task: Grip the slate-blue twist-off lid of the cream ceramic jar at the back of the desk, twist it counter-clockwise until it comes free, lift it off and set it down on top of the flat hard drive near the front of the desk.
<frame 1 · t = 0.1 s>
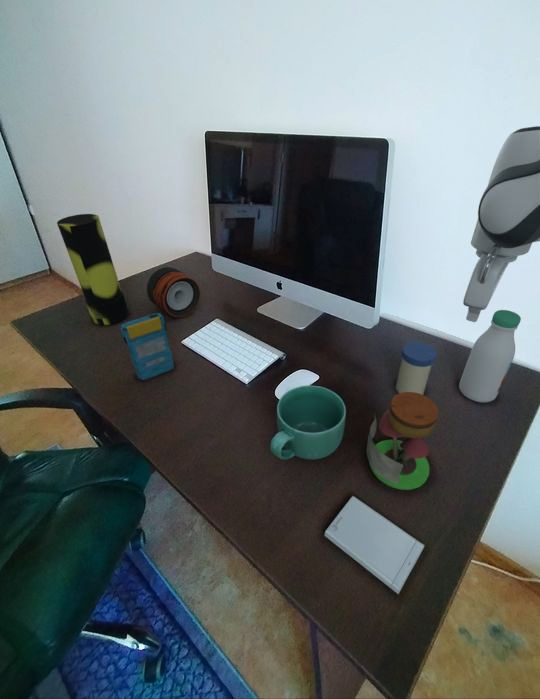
hand: (477, 308, 70), 22 cm above the table, tool pointing down, fingers open, 8 cm apart
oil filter: (176, 309, 118), on the table
milk bottle: (476, 392, 83), on the table
toy burger: (395, 463, 69), on the table
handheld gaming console: (156, 372, 92), on the table
mug: (302, 447, 72), on the table
jar: (409, 388, 84), on the table
jar lid: (419, 352, 78), point 10 cm above the table, screwed on, not yet turned
container: (111, 317, 115), on the table
hard drive: (372, 543, 57), on the table
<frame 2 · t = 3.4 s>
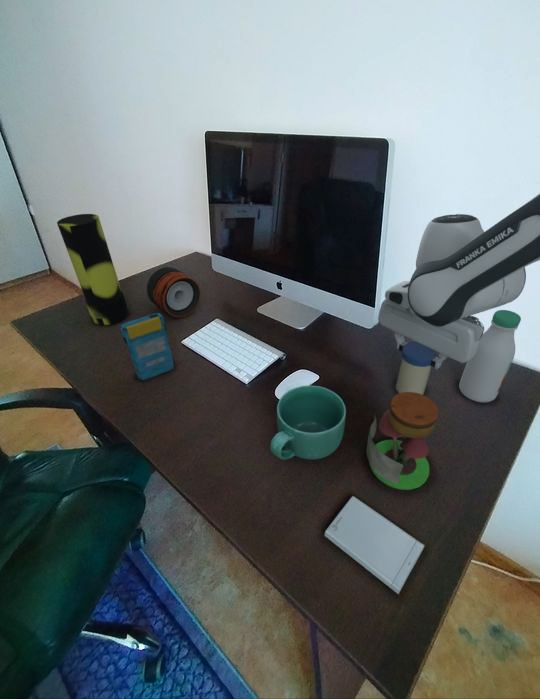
hand: (417, 357, 79), 9 cm above the table, tool pointing down, fingers closed on jar lid, 7 cm apart
jar lid: (419, 352, 78), point 10 cm above the table, screwed on, not yet turned, touching gripper
everything else where it was.
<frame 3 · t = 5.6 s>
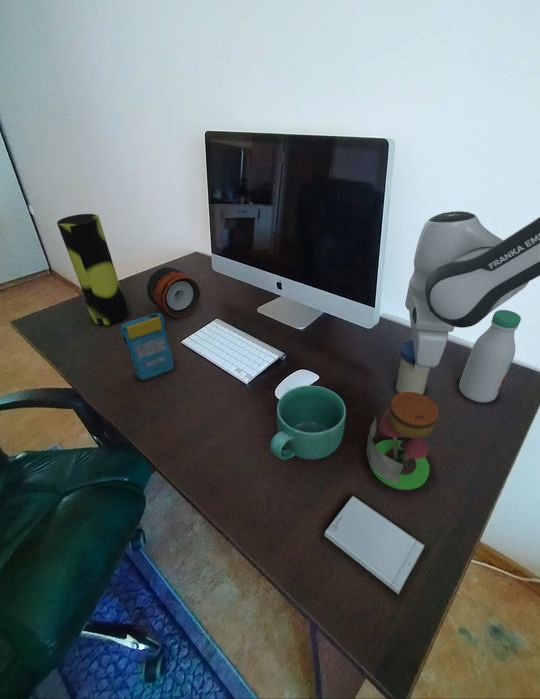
hand: (416, 356, 79), 9 cm above the table, tool pointing down, fingers closed on jar lid, 7 cm apart
jar lid: (417, 350, 78), point 11 cm above the table, off its thread, touching gripper
everything else where it was.
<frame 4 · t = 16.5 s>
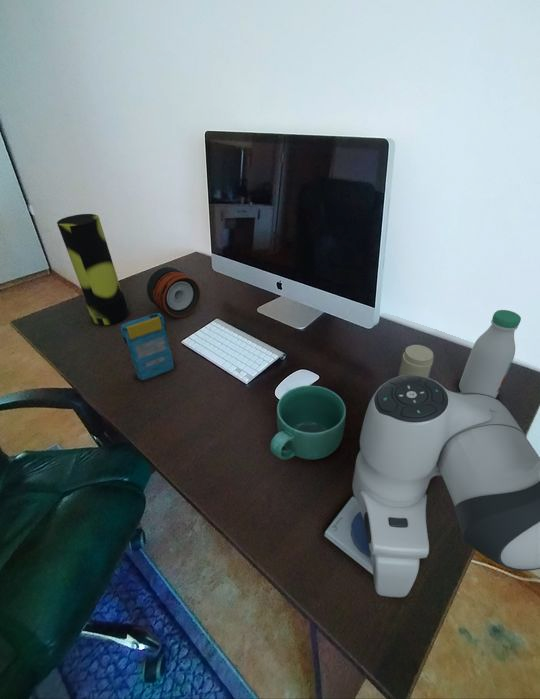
hand: (373, 536, 56), 2 cm above the table, tool pointing down, fingers closed on jar lid, 7 cm apart
jar lid: (374, 531, 55), point 3 cm above the table, off its thread, touching gripper
everything else where it was.
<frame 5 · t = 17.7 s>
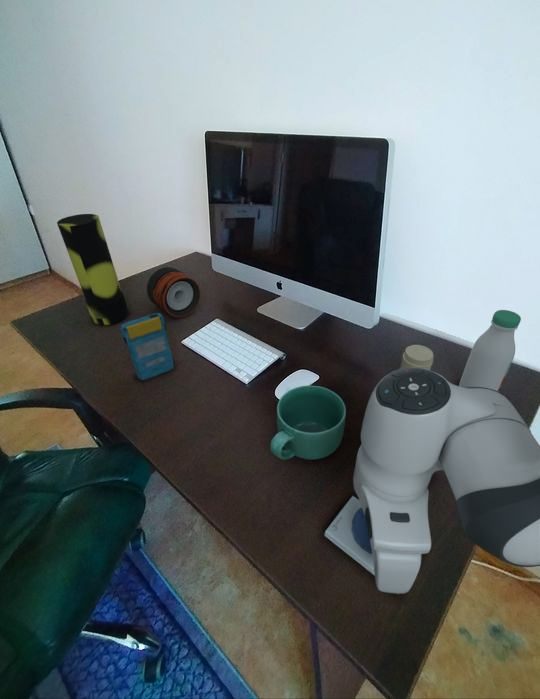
hand: (374, 532, 55), 3 cm above the table, tool pointing down, fingers closed on jar lid, 7 cm apart
jar lid: (375, 527, 55), point 4 cm above the table, off its thread, touching gripper
everything else where it was.
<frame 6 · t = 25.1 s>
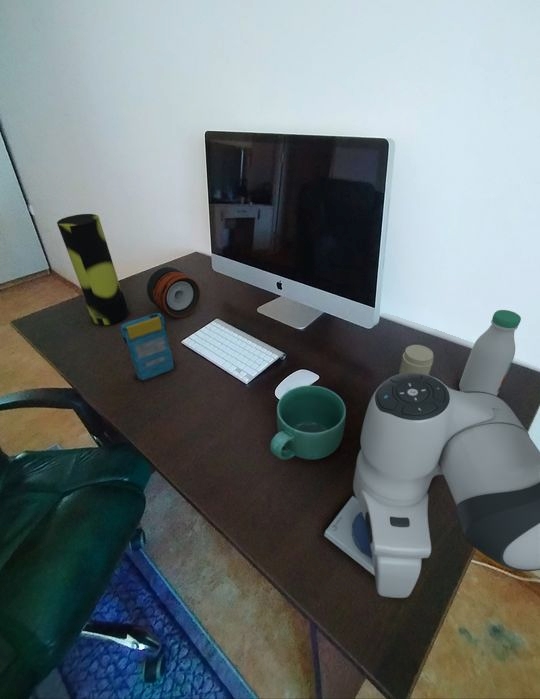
hand: (375, 536, 56), 2 cm above the table, tool pointing down, fingers closed on jar lid, 7 cm apart
jar lid: (375, 531, 55), point 4 cm above the table, off its thread, touching gripper
everything else where it was.
when the fingers open (3 cm above the table, at t = 32.2 s): jar lid drops 2 cm, resting on hard drive.
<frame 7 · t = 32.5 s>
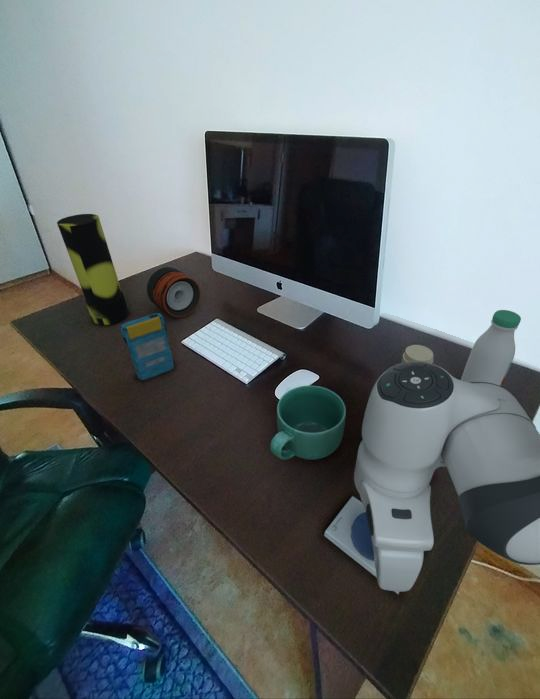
hand: (375, 530, 55), 4 cm above the table, tool pointing down, fingers open, 8 cm apart
jar lid: (374, 533, 55), point 3 cm above the table, off its thread, touching hard drive
hard drive: (372, 543, 57), on the table, touching jar lid
everything else where it was.
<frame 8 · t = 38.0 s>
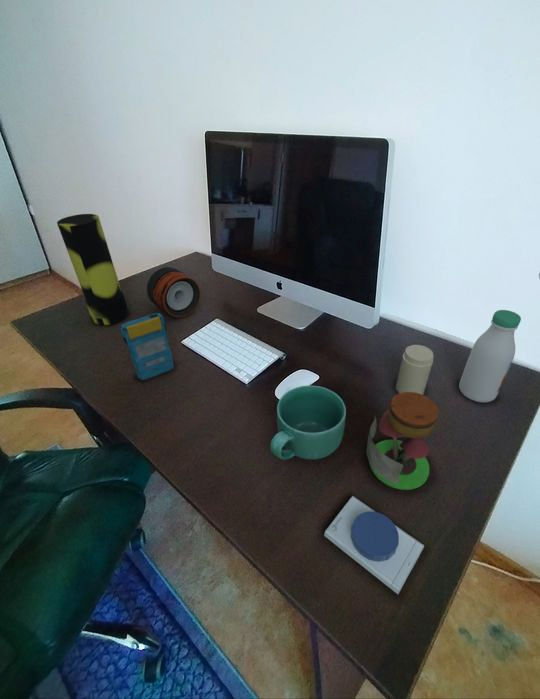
nothing on the table moved.
at the end: jar lid came off its thread; jar lid inside the target area on the hard drive (0.1 cm from its centre), point 3.1 cm above the hard drive's base; the gripper is holding nothing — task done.
